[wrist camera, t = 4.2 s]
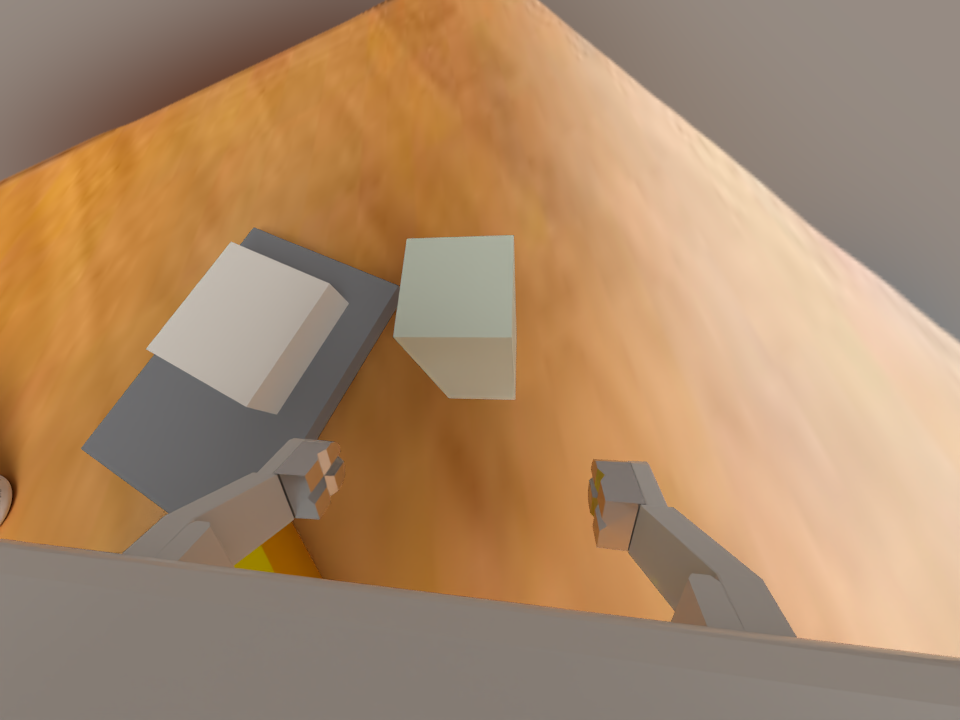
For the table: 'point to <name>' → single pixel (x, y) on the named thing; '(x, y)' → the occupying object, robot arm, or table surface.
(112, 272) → the table surface
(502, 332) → the sage block
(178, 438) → the slate board
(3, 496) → the supplement bottle
